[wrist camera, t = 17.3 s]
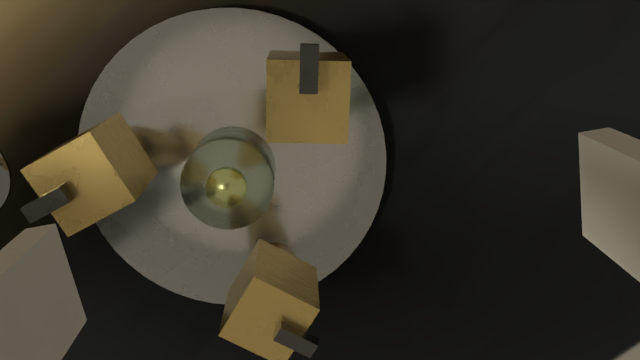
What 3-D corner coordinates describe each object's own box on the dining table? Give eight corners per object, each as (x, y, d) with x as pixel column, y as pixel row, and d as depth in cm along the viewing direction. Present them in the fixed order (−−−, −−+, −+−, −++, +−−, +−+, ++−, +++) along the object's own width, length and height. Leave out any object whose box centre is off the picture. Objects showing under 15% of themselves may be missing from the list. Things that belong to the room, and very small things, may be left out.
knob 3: (231, 274, 45) (216, 342, 36) (261, 225, 44) (253, 282, 35) (295, 306, 46) (295, 380, 37) (325, 258, 45) (333, 323, 36)
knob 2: (337, 115, 42) (349, 147, 33) (271, 114, 42) (265, 146, 33) (340, 35, 40) (353, 45, 31) (271, 33, 40) (265, 43, 31)
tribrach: (158, 333, 48) (139, 381, 42) (28, 72, 41) (-18, 84, 35) (420, 243, 46) (439, 280, 40) (326, -40, 40) (332, -47, 34)
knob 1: (129, 105, 41) (84, 134, 32) (166, 161, 42) (131, 205, 33) (62, 142, 42) (-1, 181, 33) (100, 197, 43) (49, 249, 34)
